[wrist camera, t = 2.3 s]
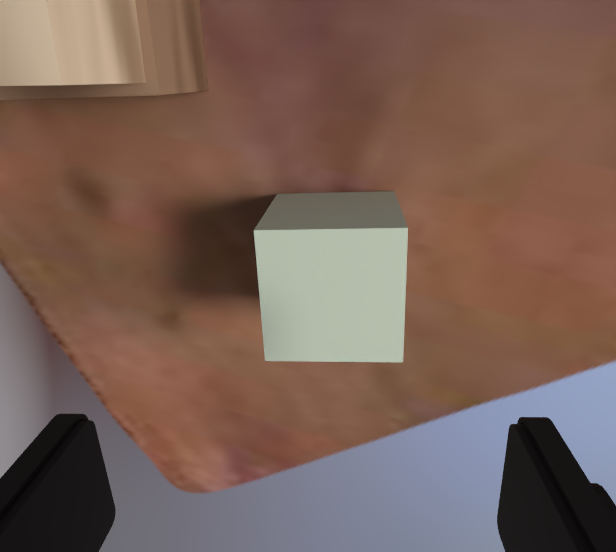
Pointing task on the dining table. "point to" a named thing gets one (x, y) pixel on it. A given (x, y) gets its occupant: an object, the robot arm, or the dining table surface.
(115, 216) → the dining table surface
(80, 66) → the beech block
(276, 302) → the sage block
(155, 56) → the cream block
